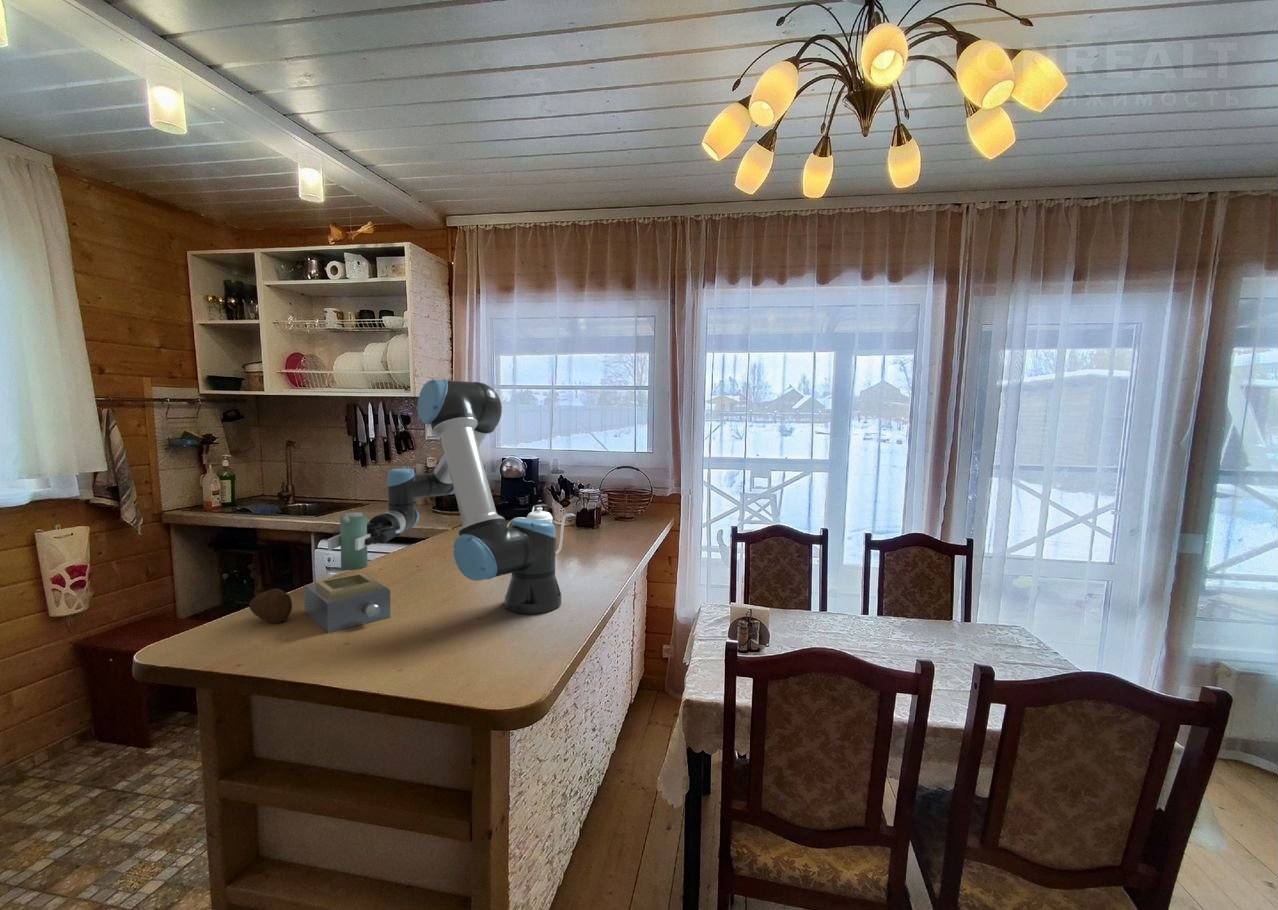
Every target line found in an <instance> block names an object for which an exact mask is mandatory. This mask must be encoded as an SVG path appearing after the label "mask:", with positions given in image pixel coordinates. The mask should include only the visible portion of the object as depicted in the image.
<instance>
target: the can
mask: <svg viewBox="0 0 1278 910" xmlns="http://www.w3.org/2000/svg"><path fill="white" fill-rule="evenodd" d="M339 521H340V522H339V524H340V526H339V527H340V530H339V531H340V538H341V546H340V569H341V570H343V571H356V570H362V569H364V568H367V567H368V566H369V565H368V546H366V547H364V548H362V549H360V550H355V539H358V538H360V537H362V536H364V535H367V524H368V516H367V515H366V514H363V512H347V513H344V516H340V517H339Z"/></svg>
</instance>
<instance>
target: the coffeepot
mask: <svg viewBox="0 0 1278 910" xmlns="http://www.w3.org/2000/svg"><path fill="white" fill-rule="evenodd" d="M569 517H576V515H575V514H574V513H566V514H564V515H563V517H562V519H561V524H560V535H559V536H560V537H559V544H558V545H559V546H558V549H557V550H556V553H555V555H556V554H558V553H560V552H561V550H562V547H563V537H564V536H563V535H564V528H565V527H564V525H565V520H566V518H569ZM514 519H537V520H544V521H548V522H551V523H553V519H554V517H553V516H552V514H551V513H550V512H548V511H545V510H543V507H537V508H536V511H531V512H529V513H528V514H527V516H526V517H524V516H523V517H522V516H521V517H519V516H518V517H514V518H513V519H510V521H509V522H508V523H507V524H506V525H507V527H509V526H510V524H511V523H512V520H514Z"/></svg>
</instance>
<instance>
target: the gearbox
mask: <svg viewBox="0 0 1278 910" xmlns="http://www.w3.org/2000/svg"><path fill="white" fill-rule="evenodd" d="M304 613H305V614H306V615H307V616H309V617H310V618H311V619H312V620H313V621H314V622H315V621H316V622H317V623H318V624H317V623H316V622H315V623H316V624H317V625H318V626H319V627H321V628H322V629H323V630H324V631H325V630H326V631H327V632H330V633H333V631H334V632H337V630H338V631H341V630H345V628H346V629H348V628H349V627H350V628H354V627H357V626H356V625H358V626H361V625H364V624H363V623H365V624H369V623H373V622H376V621H380V620H381V621H382V620H385V619H388V618H391V589H389V588H388V587H387V586H384V585H383V584H381V583H380V582H378V581H377V580H375V579H374V578H372V577H370V576H368V575H367V574H365V573H363V572H358V573H352V574H348V575H342V576H338V577H331V578H327V579H321V580H316V581H315V582H314V583H309V584H304ZM360 624H361V625H360ZM353 626H354V627H353ZM326 631H325V632H326ZM327 632H326V633H327Z"/></svg>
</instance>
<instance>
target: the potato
mask: <svg viewBox="0 0 1278 910" xmlns="http://www.w3.org/2000/svg"><path fill="white" fill-rule="evenodd" d="M291 598H292V597H291V596H290V595H289V594H288V593H286V592H285V591H284V590H283V589H280V588H277V587H276V588H272V589H268V590H265V591H262V592H260V593H259V594H258V595H256V596H254V597H253V598H252V599H251V600H250V602H249V604H248V607H249V609H250V611H251V613H253V614H254V616H256V617H258V618H259V619H261V620H263V621H267V622H269V623H272V624H273V623H275V624H276V623H277V624H279V623H282V622H284V621H285V620H287V619H288V618H289V616H290V615H291V612H292V608H293V602H292V599H291Z"/></svg>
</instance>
